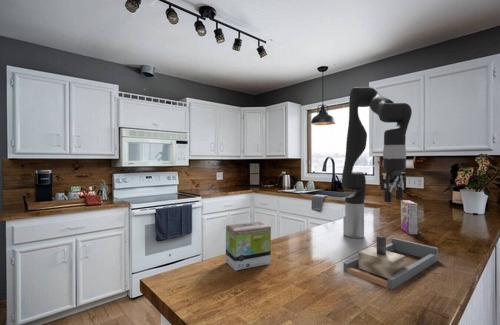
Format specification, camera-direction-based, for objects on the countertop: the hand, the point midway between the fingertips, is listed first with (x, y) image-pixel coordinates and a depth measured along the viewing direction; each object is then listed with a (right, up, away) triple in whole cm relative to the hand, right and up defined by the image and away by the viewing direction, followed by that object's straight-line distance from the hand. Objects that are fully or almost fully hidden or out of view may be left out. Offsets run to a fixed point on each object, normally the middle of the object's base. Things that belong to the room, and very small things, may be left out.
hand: (393, 200), depth 98 cm
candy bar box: (+33, -24, +45) cm, 61 cm away
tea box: (-55, -25, +4) cm, 60 cm away
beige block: (-7, -25, -5) cm, 26 cm away
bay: (-1, -24, 0) cm, 24 cm away
